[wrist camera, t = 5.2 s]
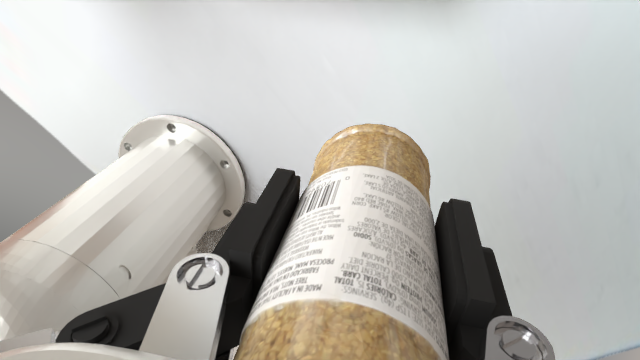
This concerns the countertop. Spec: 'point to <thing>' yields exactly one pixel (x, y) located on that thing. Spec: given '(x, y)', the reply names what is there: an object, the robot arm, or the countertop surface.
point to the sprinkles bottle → (355, 260)
